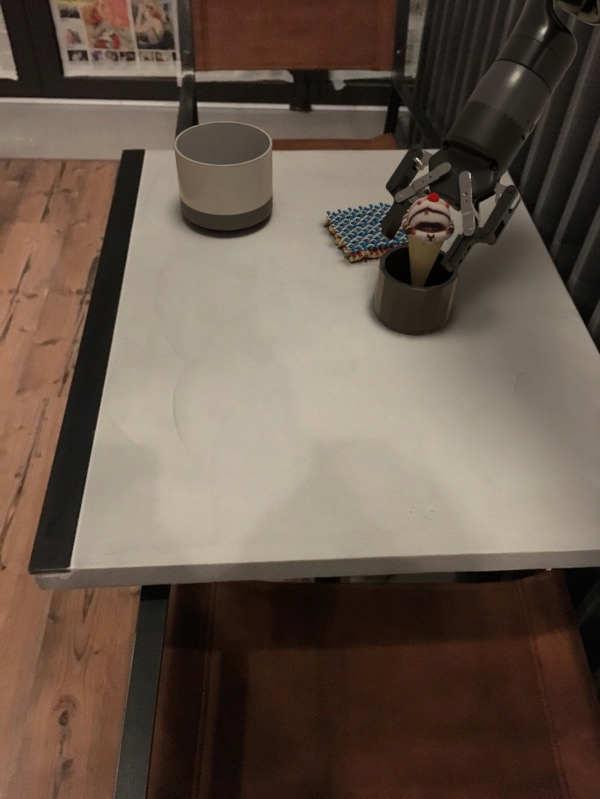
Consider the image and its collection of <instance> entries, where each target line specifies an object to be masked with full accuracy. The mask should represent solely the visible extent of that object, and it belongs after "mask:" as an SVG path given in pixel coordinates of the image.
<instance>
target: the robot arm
mask: <svg viewBox="0 0 600 799" xmlns="http://www.w3.org/2000/svg"><path fill="white" fill-rule="evenodd" d="M554 4H555V6H557V7H559V8H560V9H562V10H563V11H565V12H567V13H568V14H570V15H572V16H573V17H575V18H577V19H578V20H580V21H581V22H583V23H585V24H587V25H590V26H593V27H600V0H525V2H524V6H523V7H522V8H523V9H522V11H521V13H520V16H519V17H518V20H517V21H516V24H515V26H514V29H512V31H511V33H510V35H509V37H508V39H507V40H506V41H505V43H504V45H503V46H502V48H501V50H500V51H499V53H498V54H497V57H496V58H495V60H494V61H493V63H492V65H491V66H490V67H489V69H488V70H487V71H486V72H485V73H484V75H483V76H482V77H481V79H480V80H479V82H478V83H477V85H476V86H475V88H474V90H473V91H472V93H471V94H470V96H469V97H468V100H467V101H466V103H465V105H464V106H463V107H462V109H461V111H460V113H459V114H458V116H457V118H456V119H455V120H454V122H453V124H452V126H451V127H450V128H449V130H448V132H447V133H446V135H445V137H444V140H443V143H442V145H441V147H440V148H439V149H438V150H437V151H436V152H434V153H431V152H430V151H427V150H425V149H424V148H422V146H421V145H420V143H418V142H414V143H413V144H412V145H410V147H409V149H408V150H407V151H406V153H405V154H404V156H403V157H402V159H401V161H400V162H399V164H398V165H397V167H396V168H395V170H394V172H393V173H392V174H391V176H390V177H389V179H388V180H387V182H386V184H385V189H386V191H387V192H388V194H390V196H391V197H392V199H393V201H392V205H391V208H390V209H389V211H388V213H387V215H386V216H385V218H384V219H383V221H382V223H381V228H382V229H381V234H382V235H383V236H384V237H385V238H387V239H389V240H392V239H393V238H394V237H395V235H396V233H397V232H398V230H399V228H400V227H401V225H402V219H403V217H404V215H405V214H407V213H408V212H409V209H410V207H411V206H412V204H413V203H414V202H415V201H416V200H418V199H419V198H421V197H423V196H426V195H429V194H431V193H436V194H437V195H438V196H439V198H441V199H443V200H444V201H445V202H449V203H450V206H449V207H451V209H453V210H454V211H456V212H459V213H461V216H462V218H461V219H462V234H460V233H458V234H457V235H456V237H455V239H454V240H453V241H452V243H451V245H450V246H449V248H448V250H447V251H446V252H445V253H446V254H445V256H444V258H443V259H442V261H441V266H442V267H443V268H444V269H445V270H447V271H449V272H451V271H452V270H453V269H454V268H455V269H457V268H460V267H461V266H462V264H463V263H464V261H465V259H466V258H467V257H468V255H469V253H470V252H471V250H472V248H473V247H474V246H475V245H476V244H487V245H488V246H494V245H496V244H497V242H498V241H499V239H500V238H501V235H502V234H503V232H504V231H505V229H506V227H507V226H508V224H509V222H510V221H511V219H512V217H513V215H514V214H515V212H516V210H517V208H518V207H519V205H520V204H521V202H522V196H521V194H520V192H519V189H518V188H517V186H516V185H514V184H509V185H505V184H502V183H500V182H501V179H502V177H503V176H504V175H505V174H506V173H507V171H508V169H509V167H510V166H511V165H512V163H513V162H514V160H515V158H516V157H517V155H518V153H519V152H520V150H521V149H522V147H523V146H524V144H525V143H526V141H527V139H528V137H529V136H530V135H531V134H532V133H533V132H534V130H535V127H536V125H537V124H538V123H539V121H540V118H541V116H542V115H543V113H544V111H545V107H546V106H547V104H548V102H549V100H550V98H551V97H552V95H553V93H554V92H555V90H556V88H557V87H558V85H559V84H560V82H561V81H562V79H563V78H564V76H565V74H566V73H567V71H568V70H569V68H570V66H571V65H572V63H573V61H574V59H575V57H576V56H577V52H578V41H577V39H576V37H575V35H574V33H573V32H572V31H571V30H570V29H569V27H568V26H567V25H566V24H565V22H563V21H562V20H561V19H560V17H559V16H558V14H557V13H556V11H555V8H554ZM427 166H428V172H427V173H425V174H424V175H421V176H420V177H418V178H417V179H415V178H416V176H417V175H418V173H419V172H420V171H424V170H425V168H426V167H427ZM414 179H415V180H414ZM494 196H495V197H494ZM492 197H494V203H495V206H494V207H493V209H492V211H491V212H490V214H489V215H488V218H487V219H486V221H485V222H484V225H483V226H481V218H482V217H481V203H482V202H485V201H486V200H488V199H490V198H492Z"/></svg>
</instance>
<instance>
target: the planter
mask: <svg viewBox="0 0 600 799" xmlns="http://www.w3.org/2000/svg"><path fill="white" fill-rule="evenodd" d="M173 150H174V159H175V168H176V176H177V186H178V194H179V202H180V203H179V204H180V210H181V213H182V215H183V216H184V217H185V218H186V220H188V221H189V222H191V223H192V224H194V225H196V226H199V227H201V228H205V229H210V230H216V231H236V230H237V231H238V230H242V229H248V228H249V227H253V226H255V225H257V224H260V223H261V222H263V221H265V219H267V217H269V216H270V214H271V213H272V210H273V207H274V191H273V189H274V188H273V187H274V185H273V184H274V179H273V178H274V175H273V174H274V173H273V172H274V171H273V170H274V168H273V164H274V163H273V159H274V158H273V139H272V137H271V136H270V134H269V133H268V132H267V131H265V130H264V129H262V128H260V127H259V126H256V125H253V124H249V123H245V122H239V121H230V120H224V121H222V120H221V121H219V120H218V121H209V122H204V123H203V122H202V123H200V124H199V123H198V124H197V125H193V126H190V127H188V128H186V129H184V130H183V131H181V132H180V133H179V134H178V135H177V136H176V137H175V138H174V142H173Z"/></svg>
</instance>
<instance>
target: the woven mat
mask: <svg viewBox="0 0 600 799" xmlns="http://www.w3.org/2000/svg"><path fill="white" fill-rule="evenodd" d="M378 204H379V205H376V204H374V206H373V204H372V203H369V204H368V206H369V207H367V206H364V207H363V206H362V205H358V209H357V208H353V209H352V207H347V211H346V209H344V210H341V209H340V208H339V209H337V212H335V211H332V212H331V211H330V210H326V214H327V216H326V217H325V219H324V220H323V222H324V224H326V225H329V226H328V231H329V232H331V233H332V234H334V244H335V245H337V244H338V245H339V246H340V247H343V249H342V250H343V253H345V255H346V256H348V257H349V259H348V260H349V262H351V263H352V262H355V261H361V260H362V259H363V258H370V259H371V258H372V259H374V258H381V257H382V255H383V254H384V253H385V252H386V251H387V250H389V249H391V248H393V247H395V246H399V245H406V244H409V242H408V235H406V234H405V233H404V231H403V229H402V225H401V227H400V228H399V230H398V232H397V233H396V235H395V237H394V238H393V239H392V240H389V239H387V238H385V237H384V236H383V235H382V234H381V229H382V228H381V223H382V221H383V219H384V218H385V216H386V215H387V213H388V211H389V209H390V208H391V206H392V205H391V204H388V203H383V202H379V203H378Z"/></svg>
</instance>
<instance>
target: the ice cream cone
mask: <svg viewBox="0 0 600 799" xmlns="http://www.w3.org/2000/svg"><path fill="white" fill-rule="evenodd" d="M450 207H451V206H450V203H449V202H445V201H444V200H443V199H441V198H439V196H438V195H437V194H436V193H431V194H429V195H426V196H423V197H421V198H419V199H418V200H416V201H415V202H414V203H413V204H412V206H411V207H410V209H409V210H408V213H407V214H405V215H404V217H403V219H402V229H403V231H404V233H405V234H406V235H408V242H409V256H410V270H411V283H412V286H419V287H423V286H424V284H425V282H426V280H427V277H428V275H429V273H430V271H431V269H432V267H433V264H434V262H435V260H436V258H437V256H438V254H439V251H440V250H442V247H443V246H444V243H445V241H447V240H449V239H450V238H451V237H452V236H453V234H454V233H455V223H454V220H453V219H452V212H451V209H450Z"/></svg>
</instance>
